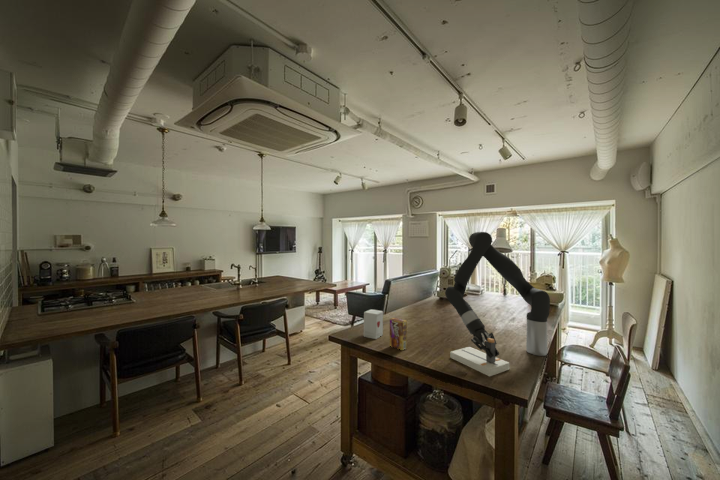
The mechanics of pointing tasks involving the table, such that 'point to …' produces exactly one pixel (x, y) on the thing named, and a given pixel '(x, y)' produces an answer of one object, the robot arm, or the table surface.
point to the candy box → (398, 333)
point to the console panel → (479, 361)
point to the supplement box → (373, 324)
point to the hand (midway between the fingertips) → (494, 356)
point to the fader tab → (492, 347)
